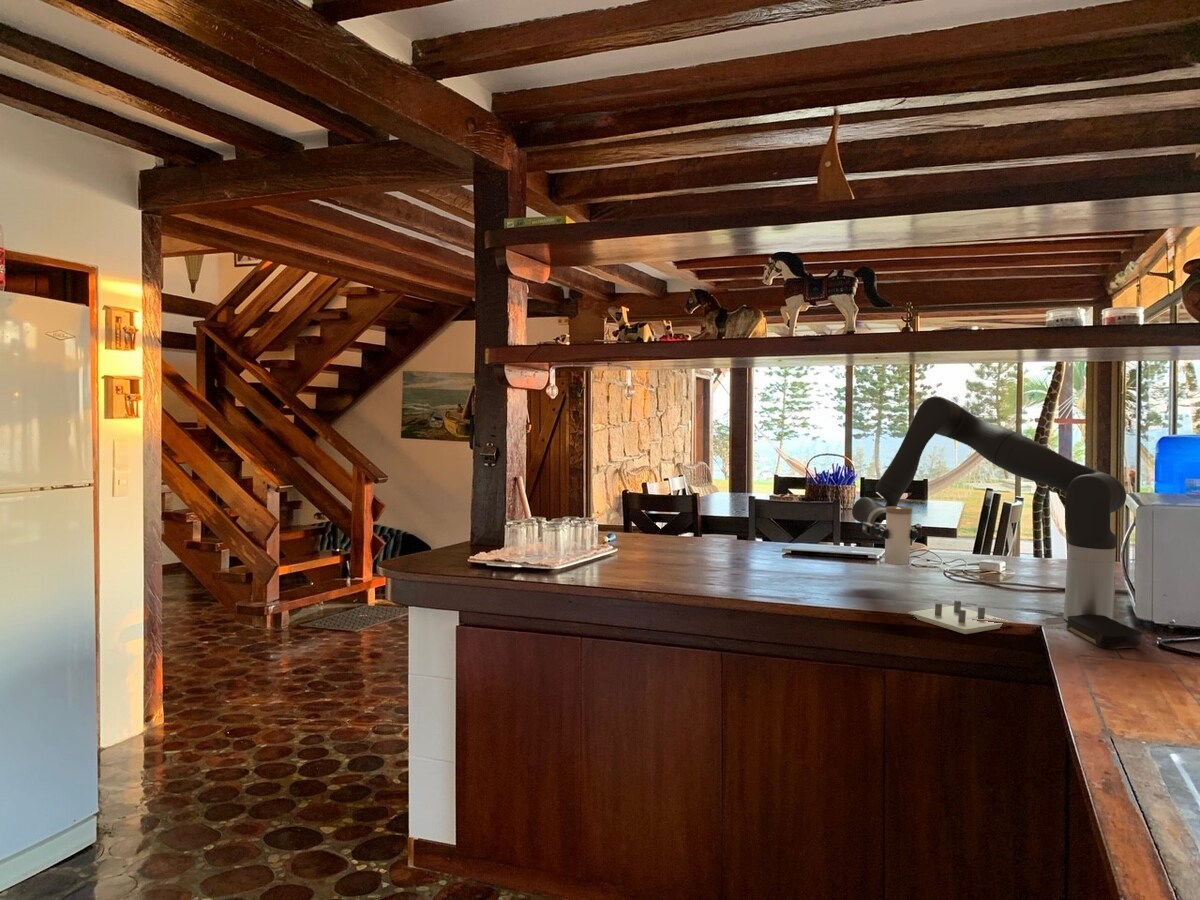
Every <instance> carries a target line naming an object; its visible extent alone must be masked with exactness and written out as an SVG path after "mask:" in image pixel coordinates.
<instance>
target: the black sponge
mask: <svg viewBox="0 0 1200 900" xmlns="http://www.w3.org/2000/svg"><path fill="white" fill-rule="evenodd" d="M1067 618H1068V621H1067V624H1066V631H1069V632H1072V633H1073V634H1075V635H1077V636H1079V637H1081V638H1083V639H1085V640H1086V641H1087V642H1088V641H1089V642H1090V643H1092V644H1094V645H1095V646H1097V647H1100V648H1102V649H1108V650H1109V649H1110V650H1111V649H1113V650H1114V649H1128V648H1129V649H1130V648H1140V647H1141V646H1142V645H1143V633H1142V632H1141V631H1140V630H1137V629H1135V628H1133V627H1130V626H1128V625H1126V624H1124V623H1121V622H1118V621H1117V620H1114V619H1113V620H1112V619H1110V618H1108V617H1107V616H1103V615H1089V614H1086V615H1077V616H1068V617H1067Z"/></svg>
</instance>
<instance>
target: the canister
mask: <svg viewBox="0 0 1200 900" xmlns="http://www.w3.org/2000/svg"><path fill="white" fill-rule="evenodd" d="M912 514H913V507H909V506H901V505H899V506H898V505H897V506H887V507H886V528H887V529H888V530H889V535H888V539H885V541H884V560H883V561H884V563H885V564H888V565H892V566H909V565H910V560H911V559H910V558H911V556H910V555H911V539H910V537H911V527H912Z"/></svg>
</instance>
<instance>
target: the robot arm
mask: <svg viewBox="0 0 1200 900" xmlns="http://www.w3.org/2000/svg"><path fill="white" fill-rule="evenodd" d="M935 435H938V436H941V437H946V438H948V439H950V440H953V441H956V442H958V443H961V444H964V445H966V446H968V447H969V448H971V449H972V450H974V451H975V452H977V453H978V454H979V455H980V456H981V457H983V458H984V459H985V460H987V461H988V462H990V463H991V464H993V465H994V466H996V467H999V468H1001V469H1002V470H1003V471H1006V472H1008V473H1010V474H1013V475H1015V476H1017V477H1018V478H1019V477H1020V478H1021V479H1025V480H1029V481H1033V482H1035V483H1039V484H1043V485H1045V486H1050V487H1053V488H1055V489H1057V490H1060V491H1062V492H1063V493H1065V500H1064V501H1065V502H1064V503H1065V504H1064V505H1065V510H1064V511H1065V512H1064V513H1065V516H1064V528H1065V532H1066V534H1067V537H1068V538H1067V553H1066V554H1067V555H1066V556H1067V557H1066V571H1065V572H1066V573H1065V574H1066V575H1065V585H1064V586H1065V589H1064V603H1063V604H1064V605H1063V619H1064V620H1065V621H1067V622H1068V618H1067V617H1068V616H1077V615H1086V614H1089V615H1103V616H1107V617H1108V618H1110V619H1112V620H1114V607H1115V593H1116V591H1115V590H1116V581H1115V570H1116V569H1115V567H1116V554H1117V553H1116V552H1117V536H1116V534H1115V533H1114V532H1113V531H1112V529H1111V523H1110V522H1111V514H1112V513H1115V512H1117V511H1119V510H1120V509H1121V508H1122V507H1123V506H1124V505H1125V503H1126V501H1127V492H1126V489H1125V486H1124V485H1123V484H1122V482H1121V481H1120V480H1119V479H1117V478H1116V477H1115V476H1113V475H1111V474H1108V473H1106V472H1103V471H1100V470H1097V469H1094V468H1092V467H1089V466H1086V465H1083V464H1081V463H1078V462H1077V461H1076V462H1075V461H1073V460H1072V459H1069V458H1067V457H1065V456H1064V455H1062V454H1060V453H1058V452H1056V451H1055V450H1052V448H1051V449H1050V448H1048V447H1047V446H1045V445H1043V444H1041V443H1039V442H1037V441H1035V440H1034V439H1031V438H1030V437H1027V436H1025V435H1023V434H1021V433H1019V432H1017V431H1014V430H1012V429H1009V428H1008V427H1007V428H1006V427H1004V426H1001V425H998V424H995V423H994V424H993V423H990V422H987V421H985V420H983V419H982V418H979V417H978V416H976V415H974V414H973V413H971V412H969V411H968V410H967V409H965V408H963V406H961V405H959V404H958V403H956V402H955V401H951V400H949V399H947V398H945V397H943V396H938V395H934V396H930V397H928V398H926V399H925V400H923V402H921V404H920V405H919V407H918V408H917V410H916V413H915V415H914V416H913V419H912V421H911V424H910V426H909V428H908V430H907V431H906V434H905V436H904V437H903V440H902V442H901V445H900V446H899V448H898V450H897V452H896V454H895V456H894V457H893V459H892V461H891V462H890V464H889V465H888V467H887V468H886V469H885V471H884V472H883V474H882V475H881V477H880V478H879V480H878V482H877V483H876V485H875V491H876V492H877V493H878V494H879V495H880V496H881V497H882V498H883V499H884V500H885V505H884V504H882V503H879V502H877V501H876V500H874V499H872V498H870V497H868V496H864V497H863V496H862V497H860V498H859V499H858V500H856V501H855V502H854V504H853V505H852V509H851V515H852V518H853V519H854V520H856V521H857V522H858V523H861V524H862V530H861V531H862V533H864V534H866V535H868V536H870V537H877V538H878V539H879V540H881V541H883V542H885V539H888V535H889V530H888V529H887V528H886V507H887V506H898V505H899V502H900V500H901V498H902V496H904V495H903V494H904V493H905V492H906V490H907V489H908V487H909V486H910V484H911V483H912V481H913V480H914V478H915V475H916V473H917V470H918V468H919V465H920V461H921V456H922V454H923V452H924V450H925V449H926V446H927V444H928V443H929V442H930V440H931V439H932V438H933V437H934V436H935ZM922 530H923V527H922V524H920V523H915V524H913V526H911V537H910V540H912V541H916V540H917V539H922V536H923V535H922V533H923V531H922Z"/></svg>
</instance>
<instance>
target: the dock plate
mask: <svg viewBox="0 0 1200 900" xmlns="http://www.w3.org/2000/svg"><path fill="white" fill-rule="evenodd" d="M985 612H986V607H983V606H978V607H977V611H976V610H971V609H968V608H964V607H962V601H961V600H957V599H955V600H954V601H953V605H948V606H943V604H942V603H940V602H935V604H934V608H928V609H922V610H916V611H915V610H914V611H909V612H907V613H908V614H911V615H914V616H915V617H916V618H917V619H916V620H919V621H921V622H924V623H927V624H931V625H935V626H937V627H941V628H944V629H947V630H951V631H954V632H957V633H960V634H964V635H968V634H975V633H980V632H985V631H991V630H997V629H1001V628H1000V627H1001V626H1002V624H1003V623H994V622H988V621H977V620H972V619H967V618H966V617H968V618H971V617H976V616H978V619H985V617H986V618H989V619H993V618H996V619H1000V620H1001V619H1002V620H1006V621H1010V620H1007V619H1003V618H1000V617H996V616H993V615H989V614H986V613H985ZM1010 622H1012V620H1011V621H1010Z"/></svg>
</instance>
